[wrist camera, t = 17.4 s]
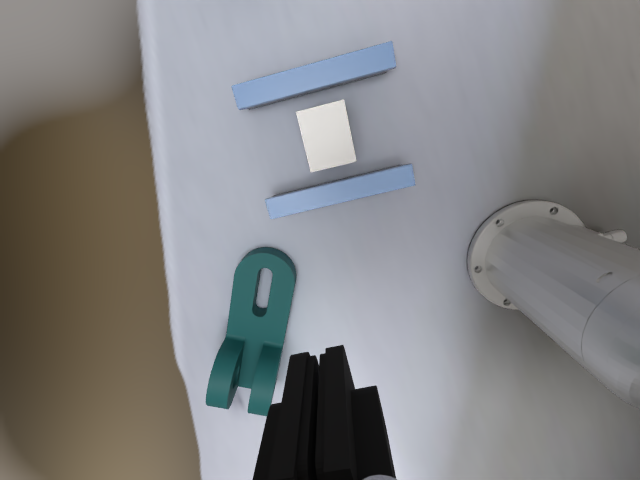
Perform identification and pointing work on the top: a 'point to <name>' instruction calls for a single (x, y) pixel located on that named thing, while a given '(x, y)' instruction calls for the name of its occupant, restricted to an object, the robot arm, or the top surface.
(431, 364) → the top surface
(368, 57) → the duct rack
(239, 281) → the bracket
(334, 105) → the off-white rectangular prism
